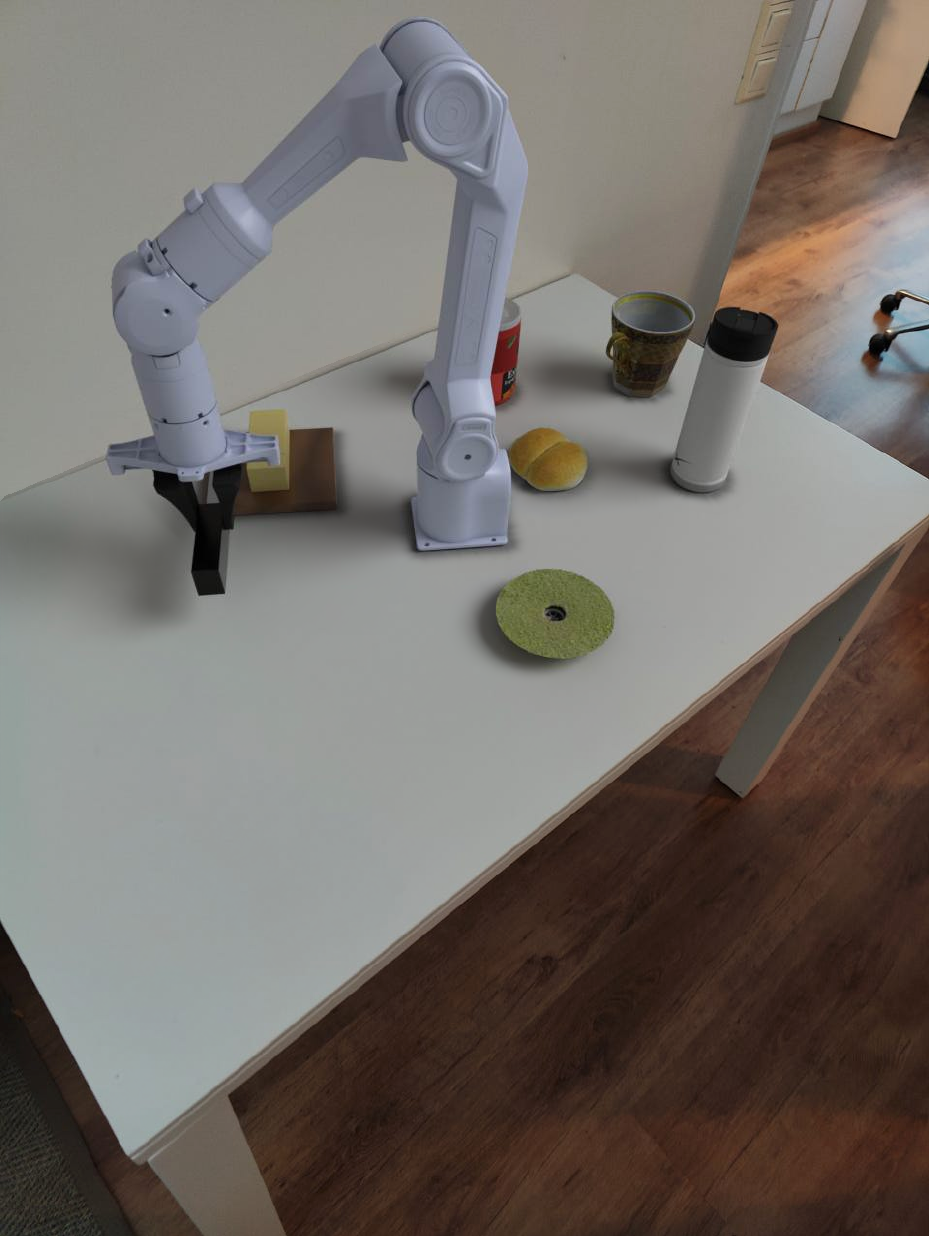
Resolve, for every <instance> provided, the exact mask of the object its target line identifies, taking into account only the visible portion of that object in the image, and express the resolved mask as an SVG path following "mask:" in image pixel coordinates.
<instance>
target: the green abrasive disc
mask: <svg viewBox="0 0 929 1236" xmlns="http://www.w3.org/2000/svg"><path fill="white" fill-rule="evenodd" d="M495 617H496V620H497V624H498V625H499V628H500V630H501V631H502V632H503V634H505V637H507V638H508V639H509V641H511V642H512V643H513V644H515V645H516V646H517V647H519V648H521V649H522V650H525V651H527V652H528V653H530V654H533V655H536V656H541V657H546V658H550V659H572V658H577V657H582V656H586V655H588V654H589V653H593V652H594V651H595V650H597V649H598V648H599V647H601V646H602V645H603V644H604V643H605V642H606V641H607V640H608V639H609V637H610V636H611V633H612V632H613V630H614V626H615V617H616V616H615V609H614V607H613V604H612V602H611V600H610V599H609V597H608V596H607V594H606V592H605V591H604V590H603V589H602V588H601V587H600V586H599V585H597V584H596V583H595V582H594V581H592V580H590V579H589V578H586V577H585V576H583V575H581V574H580V575H579V574H578V573H575V572H573V571H567V570H563V569H557V568H556V569H555V568H542V569H536V570H531V571H528V572H524V573H521V574H520V575H518V576H517V577H515V578H512V579H511V580H510V581H509V582H508V583H507V584H505V586H504V587H503V588H502V590H501V591H500V592H499V594H498V596H497V600H496V603H495Z"/></svg>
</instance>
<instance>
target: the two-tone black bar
mask: <svg viewBox="0 0 929 1236" xmlns="http://www.w3.org/2000/svg"><path fill="white" fill-rule="evenodd" d="M212 480H213V471H210V477H209V486H208V496H207V503H206V504H203V503H199V504H198V512H197V521H196V530H195V532H194V540H193V549H192V557H191V568H190V574H191V577H192V581H193V583H194V587H195V589H196V592H197V596H198V597H203V596H206V597H207V596H217V595H226V591H227V573H228V562H229V547H230V532H231V530H226V527H225V524H224V521H223V515H222V510H221V506H220V503H219V500H218V498H217V495H216V493H215V491H214V489H213V486H212Z"/></svg>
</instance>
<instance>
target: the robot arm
mask: <svg viewBox="0 0 929 1236" xmlns="http://www.w3.org/2000/svg"><path fill="white" fill-rule="evenodd" d="M509 102H510V101H509V97H508V95H507V94H506V92H505V91H504V90H503V89H502V88H501V87H500V86H499V84H497V82H495V80H494V78H492V76H491V75H490V74H489V73H488V71H486V70H485V68H483V66H482V65H481V64H479V63H478V62H477V61H475V59H474V58H473V57H472V55H471V54H470V53H469V52H468V51H467V50H466V48H465V47H463V45H462V44H461V43H460V42H459V40H458V39H457V38H456V37H455V36H454V35H453V34H452V33H451V32H450V30H449V29H448V28H447V27H446V26H445V25H444V24H443V23H441V22H439V21H438V20H436V19H433V18H432V17H428V16H419V15H417V16H410V17H407V18H404V19H402V20H401V21H398V22H397V23H396V24H395V25H393V26H392V27H391V28H390V29H389V30H388V32H386V34H385V36H384V37H383V38H382V40H381V43H380V44H379V46H378V44H377V43H374V44H372V45H371V46H369V47H368V48H365V49H364V50H363V51H361V52H360V53H359V55H357V57H356V58H355V59H354V61H353V62H352V63H351V65H350V66H349V67H348V68H347V70H346V71H345V72H344V73H343V74H342V76H341V77H340V78H339V80H338V81H337V82H336V83H335V84H334V85H333V87H332V88H331V89H330V90H329V91H328V92H326V94H325V95H324V96H323V97H322V98H321V99H320V100H319V101H318V102H317V103H316V104H315V105H314V106H313V108H312V109H311V110H310V111H309V112H308V113H306V115H304V117H303V118H302V119H301V121H299V122H298V123H297V125H296V126H294V127H293V129H292V130H291V131H290V132H289V133H287V135H285V137H284V138H283V139H282V140H281V141H280V142H279V143H278V145H276V146H275V148H273V150H272V151H271V152H269V154H268V155H267V156H265V158H264V159H263V160H262V161H261V162H260V163H259V164H258V165H257V166H256V167H255V168H254V169H253V170H252V171H251V172H250V174H249V175H248V176H247V177H246V178H245V179H244V180H242V182H238V183H237V182H223V181H222V182H221V181H217V182H213V183H212V184H211V185H209V187H207V188H206V189H205V190H204V191H203V192H201V191H200V190H199V189H198V188H197V187H193V188H192V189H191V190H190V191H188V193H187V194H186V195H185V196H183V199H182V200H183V206H184V210H183V211H182V212H181V213H179V215H178V216H177V217H175V219H174V220H172V222H171V223H169V224H168V225H167V226H166V227H165V228H164V229H163V230H162V231H161V232H160V233H159V234H157V236H156V237H154V238H153V240H150V238H148V237H145V238H144V239H143V240H142V241H140V243H138V244H137V250H132V251H130V252H128V253H126V254H124V255H123V256H122V257H121V258H120V259H119V260H118V261H117V262H116V264H115V266H114V267H113V269H112V276H111V303H112V318H113V322H114V326H115V329H116V331H117V333H118V334H119V336H120V337H121V339H122V340H123V341H124V342H125V343H126V347H127V350H128V351H129V353H130V355H131V356H130V357H131V358H130V363H131V366H132V369H133V372H134V376H135V380H136V382H137V386H138V388H139V392H140V395H141V398H142V401H143V402H142V403H143V405H144V407H145V411H146V414H147V417H148V420H149V423H150V427H151V429H152V433H153V435H149V436H146V437H142V438H138V439H134V440H129V441H126V442H119V443H109V444H108V446H107V451H106V455H105V460H106V463H107V466H108V468H109V471H110V474H111V475H112V476H122V475H124V474H125V473H126V471H130V470H131V471H132V470H151V471H152V473H153V474H152V476H153V481H152V486H153V489H154V491H155V492H156V494H157V495H158V496H160V497H162V498H164V499H165V500H167V502H169V503H170V504H171V505H173V507H174V508H176V509H177V510H178V511H179V513H180V514H181V515H182V516H183V518H184V519H185V520H186V522H187V523H188V524H189V526H190V528H191V529H192V531H193V532H194V533H195V530H196V521H197V512H198V504H200V502H199V498H198V496H197V492H196V490H195V487H194V482H199V481H202V480H203V479H204V477H205V474H206V473H207V472H210V471H213V480H212V486H213V489H214V491H215V493H216V495H217V498H218V500H219V503H220V506H221V510H222V515H223V521H224V524H225V527H226V530H230V531H232V530H234V528H235V517H236V515H234V503H235V499H236V496H237V493H238V491H239V489H240V485H241V481H242V469H243V463H253V462H267V464H268V465H269V466H279V465H280V448H279V442H278V436H277V435H258V434H251V433H245V432H246V431H239V430H234V429H233V430H232V429H227V428H224V426H223V421H222V417H221V413H220V407H219V404H218V401H217V397H216V392H215V388H214V387H215V386H214V383H213V378H212V374H211V370H210V366H209V362H208V357H207V353H206V350H205V347H204V346H203V344H202V343H201V341H200V338H199V329H200V317H201V315H202V314H203V313H204V312H205V311H206V310H208V309H209V308H211V307H212V306H213V305H214V304H215V303H217V302H218V301H219V300H220V299H221V298H222V297H223V296H224V295H226V293H228V292H229V291H230V290H231V289H232V288H233V287H235V286H236V285H237V284H238V283H239V282H240V281H241V280H242V279H243V278H244V277H246V276H247V275H248V274H249V273H250V272H251V271H253V269H255V268H256V267H257V266H258V265H259V264H261V262H262V261H263V260H265V258H267V257H268V256H269V255H270V254H271V253H272V250H273V234H274V233H273V232H274V227H275V226H276V225H277V224H278V223H280V222H281V221H282V220H284V219H285V218H286V217H287V216H288V215H289V214H291V213H292V212H293V211H294V210H296V209H297V208H298V207H299V206H301V205H302V204H303V203H304V202H306V201H307V200H308V199H310V198H311V197H312V196H313V195H315V194H316V193H317V192H318V191H319V190H321V189H322V188H323V187H324V186H326V185H327V184H328V183H329V182H330V181H332V180H333V179H334V178H336V177H337V176H338V175H339V174H340V173H342V172H343V171H344V170H346V169H347V168H349V166H350V165H352V164H354V162H356V161H357V160H359V159H360V158H367V159H375V160H383V161H392V162H398V163H399V162H400V163H404V162H408V160H409V159H408V155H407V153H406V149H405V147H404V145H403V143H408V142H410V143H411V144H412V146H413V147H414V148H415V150H416V151H417V152H418V153H420V154H421V155H422V156H423V157H425V158H426V159H428V160H430V161H431V162H433V163H434V164H437V165H439V166H441V167H443V168H445V169H447V170H449V171H450V173H451V174H452V176H453V177H455V179H456V184H455V192H454V200H453V208H452V215H451V216H452V219H451V225H450V232H449V238H448V239H449V241H448V248H447V255H446V263H445V270H444V271H445V272H444V278H443V285H442V286H443V287H442V293H441V294H442V295H441V302H440V308H439V309H440V311H439V318H438V325H437V335H436V340H435V341H436V342H435V349H434V357H433V359H431V360H429V361H428V362H426V363H425V364H424V370H423V371H424V372H423V376H422V378H421V381H420V382H419V385H417V387H416V389H415V390H414V392H413V394H412V397H411V400H410V411H411V415H412V416H413V418H414V419H415V421H416V422H417V424H418V426H419V429H420V431H421V436H420V439H419V442H418V445H417V448H416V483H417V484H416V494H417V495H416V496H413V497H411V498H410V505H411V511H412V512H411V513H412V520H413V527H414V534H415V535H414V536H415V542H416V548H417V550H418V551H421V552H422V551H436V550H451V549H452V550H453V549H465V548H477V547H478V548H479V547H492V546H493V547H494V546H504V545H507V544H508V541H509V538H508V529H509V528H508V526H509V517H510V506H511V498H512V497H511V496H512V495H511V494H512V476H511V475H512V474H511V464H510V462H509V454H508V452H507V450H506V449H505V448H499V447H500V445H499V440H498V438H497V435H496V431H495V424H496V419H497V412H496V406H495V405H494V399H493V394H492V388H491V381H490V376H491V370H492V365H493V360H494V354H495V349H496V344H497V338H498V333H499V328H500V322H501V317H502V312H503V306H504V301H505V297H506V295H507V289H508V284H509V279H510V274H511V268H512V263H513V258H514V252H515V247H516V241H517V237H518V230H519V225H520V220H521V215H522V210H523V204H524V199H525V194H526V189H527V182H528V178H529V164H528V159H527V156H526V154H525V151H524V149H523V145H522V142H521V140H520V137H519V135H518V131H517V129H516V126H515V123H514V120H513V117H512V114H511V112H510V106H509V104H510V103H509Z"/></svg>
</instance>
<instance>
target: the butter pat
mask: <svg viewBox="0 0 929 1236" xmlns="http://www.w3.org/2000/svg"><path fill="white" fill-rule="evenodd" d="M247 474H248V478H249V483H250V487H251V492H263V491H279V490H289V473H288V467H287V461H286V455H285V454H280V465H279V466H269V465H268V464H267V462H253V463H247Z"/></svg>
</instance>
